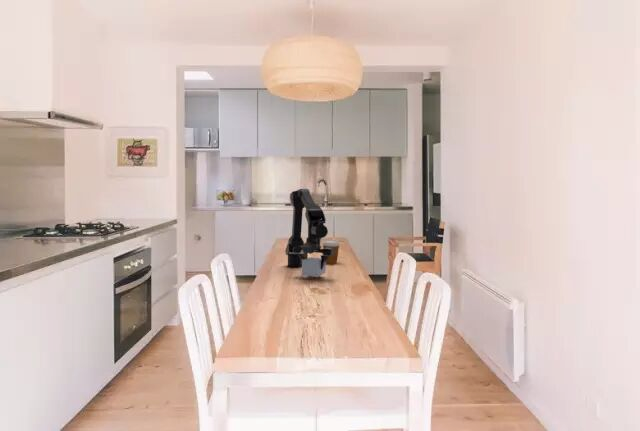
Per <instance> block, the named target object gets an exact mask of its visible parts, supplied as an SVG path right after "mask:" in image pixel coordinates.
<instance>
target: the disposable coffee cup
mask: <svg viewBox="0 0 640 431" xmlns="http://www.w3.org/2000/svg"><path fill="white" fill-rule="evenodd" d="M340 245H341V243H340V241H339V240H323V241H322V245H321V246H322V249H324V248H326V247H329V248H334V249H335V254H333V255H331V256H329V257H328V258H327V260H326V265H328V266H329V265H331V266H332V265H337V262H338V256H339V249H340Z"/></svg>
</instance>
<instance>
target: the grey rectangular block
mask: <svg viewBox="0 0 640 431" xmlns="http://www.w3.org/2000/svg"><path fill="white" fill-rule="evenodd" d="M326 267H327V264H326V262H325V265H324V267H323V270H321V257H319V256H318V257H314V256H310V257H308V258H306V259H304V260H302V266H301V276H303V277H304V276H306V277H313V276H314V277H313V278H315V277H318V276H320V275H321V276H322V275H324V274H326V272H327V268H326ZM321 276H320V277H321ZM318 278H319V277H318Z"/></svg>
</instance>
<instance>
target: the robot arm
mask: <svg viewBox="0 0 640 431" xmlns="http://www.w3.org/2000/svg"><path fill="white" fill-rule="evenodd" d="M289 200H290V204H291V205H292V208H293V210H292V211H293V212H292V228H291V235H290V237H289V238H288V242H287V244H286V247H285V250H284V251H285V255H286V256H287V265H286V267H287V268H301V267H302V260H304V259H306V258H309V257H308V254H313V253H316V254H317V253H319V254H320V253H321V254H322V255H320V258H321V270H323V267H324V265H325V262H326V260H327V258H328V257H329V256H331V255H333V254H335V249H334V248H329V247H326V248H324V249H323V248H322V245H321V240H322V239H323V238H325V237H327V235H328V233H329V231H328V227H327V226H326V225H324V224H326V217H325V216H326V215H325V213H324V211H323V209H322V208H321V206H319V205H318V204H316V203H315V201H314V199H313V197H312V195H311V192H310V189H308V188H299V189H297V190H293V191H291V193H290V194H289ZM304 208H305V212H304V213H305V214H304V215H305V219H306V221H307V237H306V240H305V242H304V239H303V237H302V224H303V223H302V222H303V210H304Z"/></svg>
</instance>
